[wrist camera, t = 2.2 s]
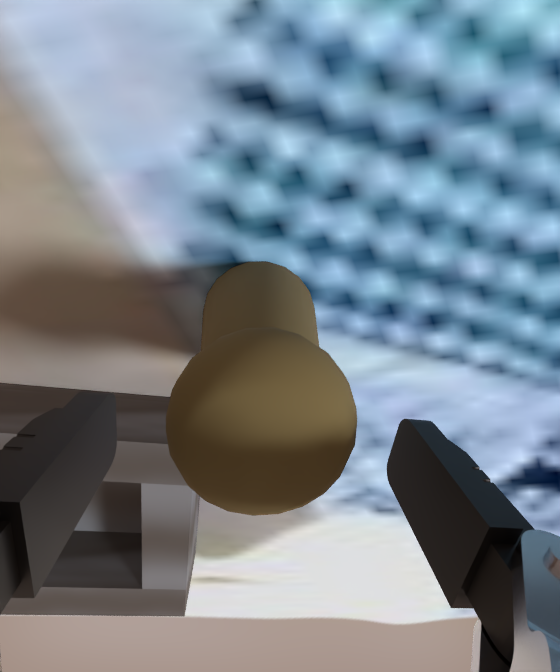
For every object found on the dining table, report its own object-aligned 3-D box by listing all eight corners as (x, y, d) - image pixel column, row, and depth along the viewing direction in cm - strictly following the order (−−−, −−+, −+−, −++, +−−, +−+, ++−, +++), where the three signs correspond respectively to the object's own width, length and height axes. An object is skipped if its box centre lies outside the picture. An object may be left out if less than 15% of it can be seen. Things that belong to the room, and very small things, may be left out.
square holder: (-35, 380, 18) (-110, 425, 14) (206, 400, 20) (194, 446, 16) (2, 547, 23) (-48, 613, 19) (195, 553, 24) (184, 616, 20)
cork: (332, 337, 19) (425, 495, 8) (239, 384, 19) (220, 583, 9) (283, 239, 17) (328, 291, 6) (180, 295, 17) (70, 425, 7)
